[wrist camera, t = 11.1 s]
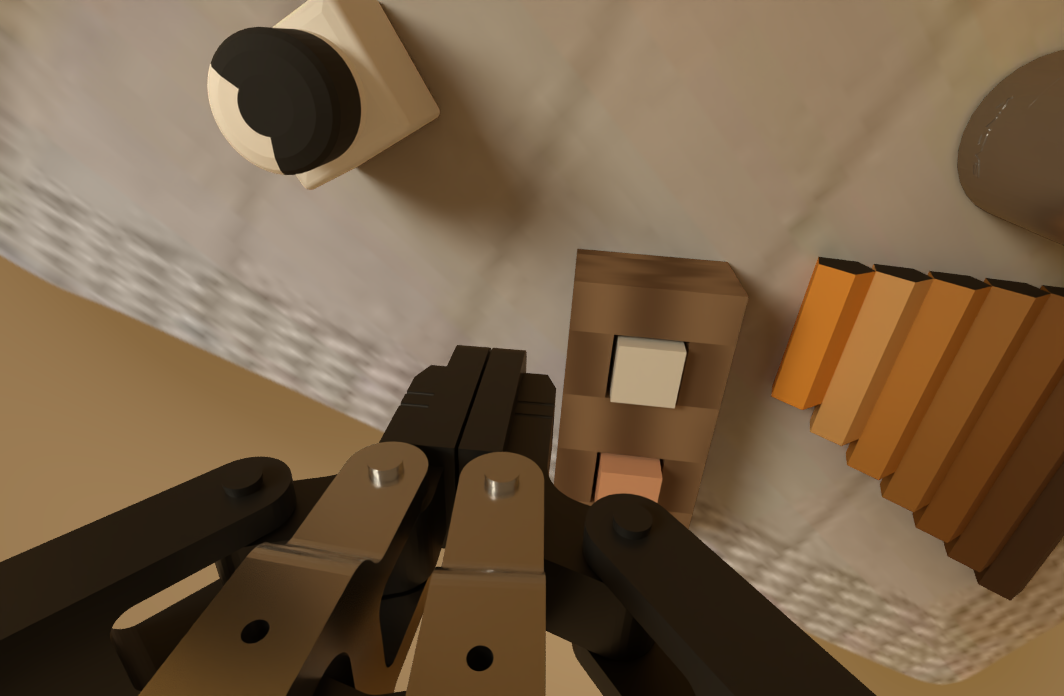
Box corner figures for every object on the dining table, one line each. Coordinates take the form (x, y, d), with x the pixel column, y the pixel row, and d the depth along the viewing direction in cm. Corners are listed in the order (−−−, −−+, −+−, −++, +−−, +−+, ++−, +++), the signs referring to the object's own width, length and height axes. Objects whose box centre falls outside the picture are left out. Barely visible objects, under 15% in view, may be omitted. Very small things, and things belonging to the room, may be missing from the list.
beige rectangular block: (675, 313, 39) (686, 352, 34) (665, 365, 40) (674, 408, 36) (615, 308, 39) (618, 345, 34) (608, 359, 41) (610, 401, 36)
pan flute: (1006, 569, 49) (1198, 302, 37) (1033, 604, 46) (1251, 325, 34) (713, 526, 50) (807, 253, 38) (720, 557, 47) (826, 271, 35)
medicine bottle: (377, -5, 33) (273, -28, 22) (443, 113, 35) (378, 142, 25) (285, 62, 35) (150, 69, 24) (354, 168, 38) (259, 217, 27)
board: (727, 262, 38) (748, 297, 33) (674, 490, 47) (684, 546, 42) (577, 249, 39) (574, 281, 33) (554, 477, 48) (549, 530, 43)
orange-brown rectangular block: (654, 429, 42) (662, 478, 37) (646, 470, 44) (652, 523, 39) (600, 423, 42) (601, 472, 38) (594, 465, 44) (594, 516, 39)
